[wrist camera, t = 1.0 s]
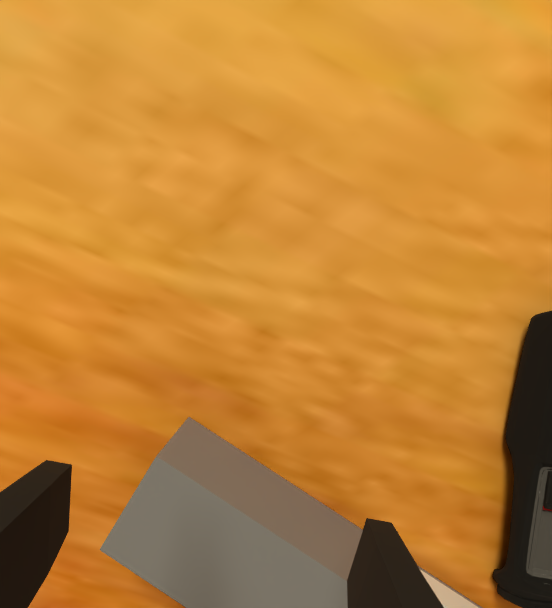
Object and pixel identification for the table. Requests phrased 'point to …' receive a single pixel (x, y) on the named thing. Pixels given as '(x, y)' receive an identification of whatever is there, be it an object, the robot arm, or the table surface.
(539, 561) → the electric trimmer
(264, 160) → the table surface
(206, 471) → the charging dock
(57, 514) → the robot arm
